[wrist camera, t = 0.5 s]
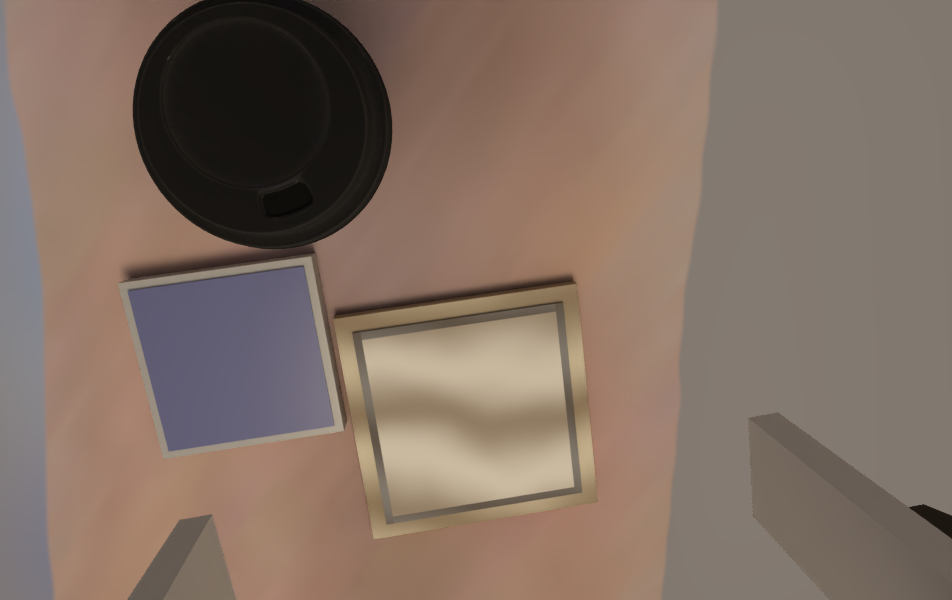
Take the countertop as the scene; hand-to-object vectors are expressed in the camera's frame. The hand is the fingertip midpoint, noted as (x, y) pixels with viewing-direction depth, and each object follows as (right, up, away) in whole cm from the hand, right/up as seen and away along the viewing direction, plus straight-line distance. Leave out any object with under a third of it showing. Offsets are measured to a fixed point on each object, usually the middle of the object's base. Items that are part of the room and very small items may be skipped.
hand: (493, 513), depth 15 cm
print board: (-1, -2, +26) cm, 26 cm away
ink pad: (-15, +2, +24) cm, 28 cm away
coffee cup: (-10, +15, +22) cm, 28 cm away
